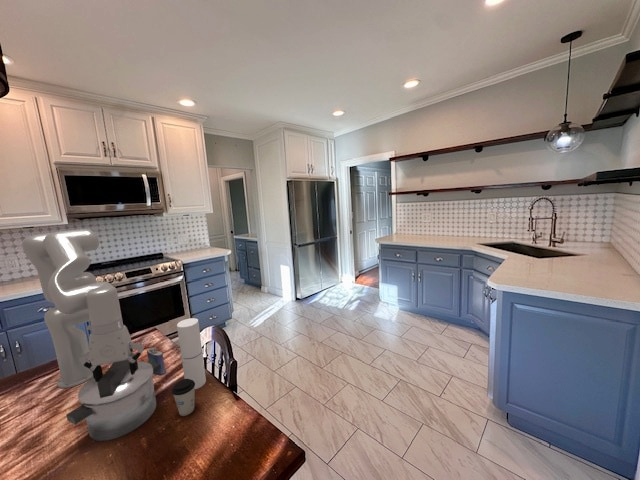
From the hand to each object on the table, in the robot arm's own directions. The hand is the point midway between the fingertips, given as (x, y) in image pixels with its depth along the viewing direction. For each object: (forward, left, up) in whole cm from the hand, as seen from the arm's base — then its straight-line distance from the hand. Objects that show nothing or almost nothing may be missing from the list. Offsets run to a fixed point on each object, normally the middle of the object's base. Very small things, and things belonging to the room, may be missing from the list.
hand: (117, 375), depth 85 cm
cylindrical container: (+10, +20, -15) cm, 27 cm away
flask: (-12, +20, -15) cm, 28 cm away
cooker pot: (0, 0, -15) cm, 15 cm away
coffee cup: (+18, +9, -15) cm, 25 cm away
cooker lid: (0, 0, -3) cm, 3 cm away
